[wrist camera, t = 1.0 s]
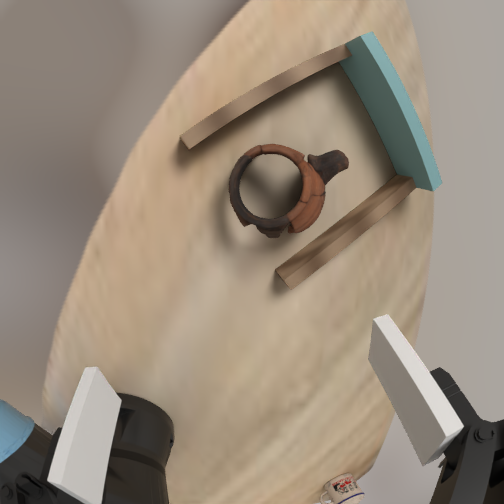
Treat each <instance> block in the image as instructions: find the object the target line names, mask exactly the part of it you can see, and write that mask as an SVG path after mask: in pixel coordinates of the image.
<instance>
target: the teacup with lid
mask: <svg viewBox="0 0 504 504" xmlns="http://www.w3.org/2000/svg"><path fill="white" fill-rule="evenodd" d="M324 488H325V490H326V492H324V493H322V494H321V496H320V503H321V504H358V503H359V502H360V500H362V499H363V498H364V493H363V492H362V491H361V489H360V488H359V486H358V484H357V483H356V481H355V479H354V478H353V476H352V474H350V473H346V474H343V475H340V476H337V477H335V478H334V479H332V480H330V481H329V482H328V483H326V485H325V486H324ZM325 494H328V496H329V498H330V500H331V503H324V502H323V496H324V495H325Z"/></svg>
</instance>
